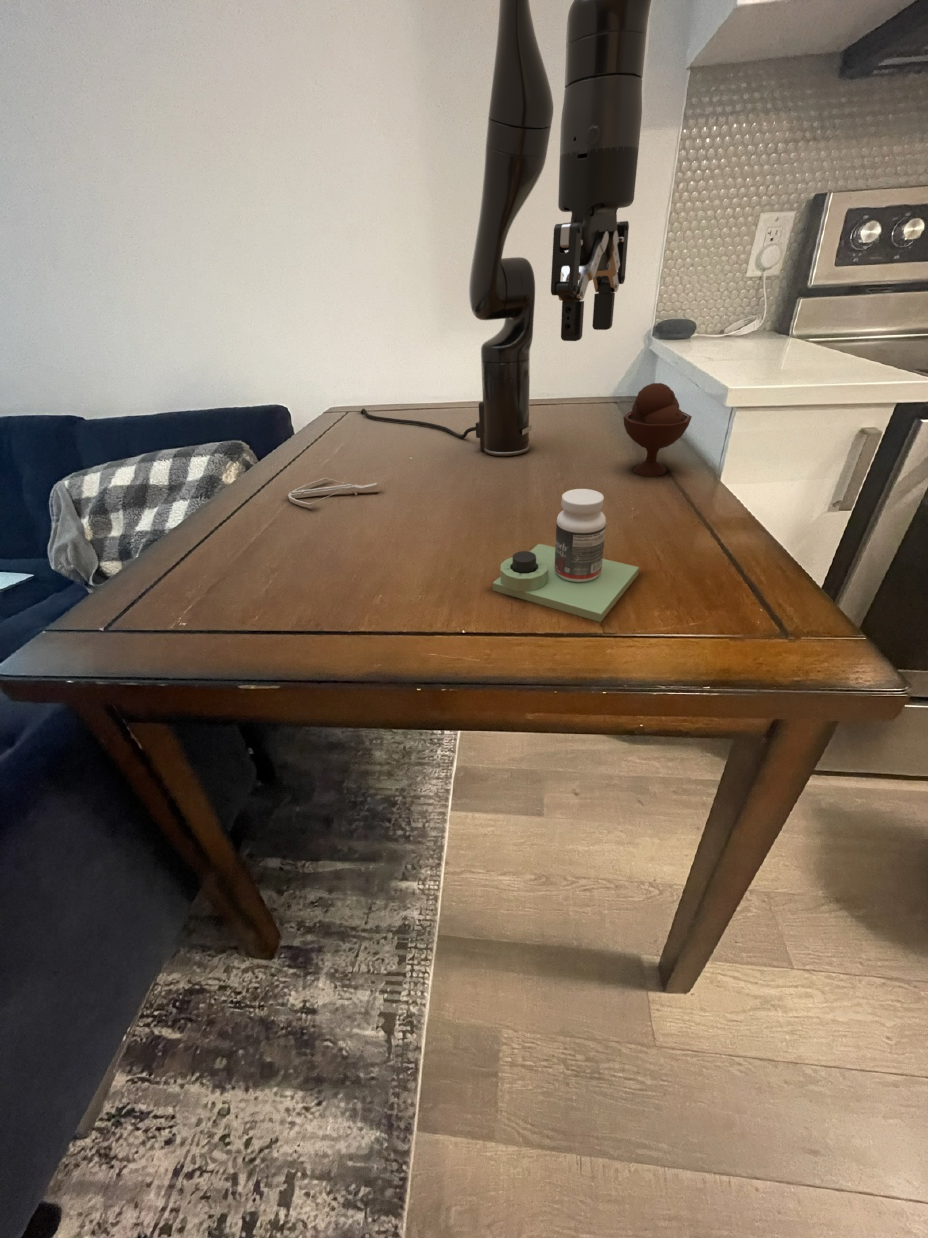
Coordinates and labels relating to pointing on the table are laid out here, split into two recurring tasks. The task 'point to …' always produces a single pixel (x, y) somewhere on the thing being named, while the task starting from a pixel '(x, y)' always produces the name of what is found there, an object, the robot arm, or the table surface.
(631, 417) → the ice cream bowl
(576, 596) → the scale
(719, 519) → the table surface
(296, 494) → the crossbow
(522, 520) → the table surface
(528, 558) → the button
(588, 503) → the pill bottle
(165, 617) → the table surface
